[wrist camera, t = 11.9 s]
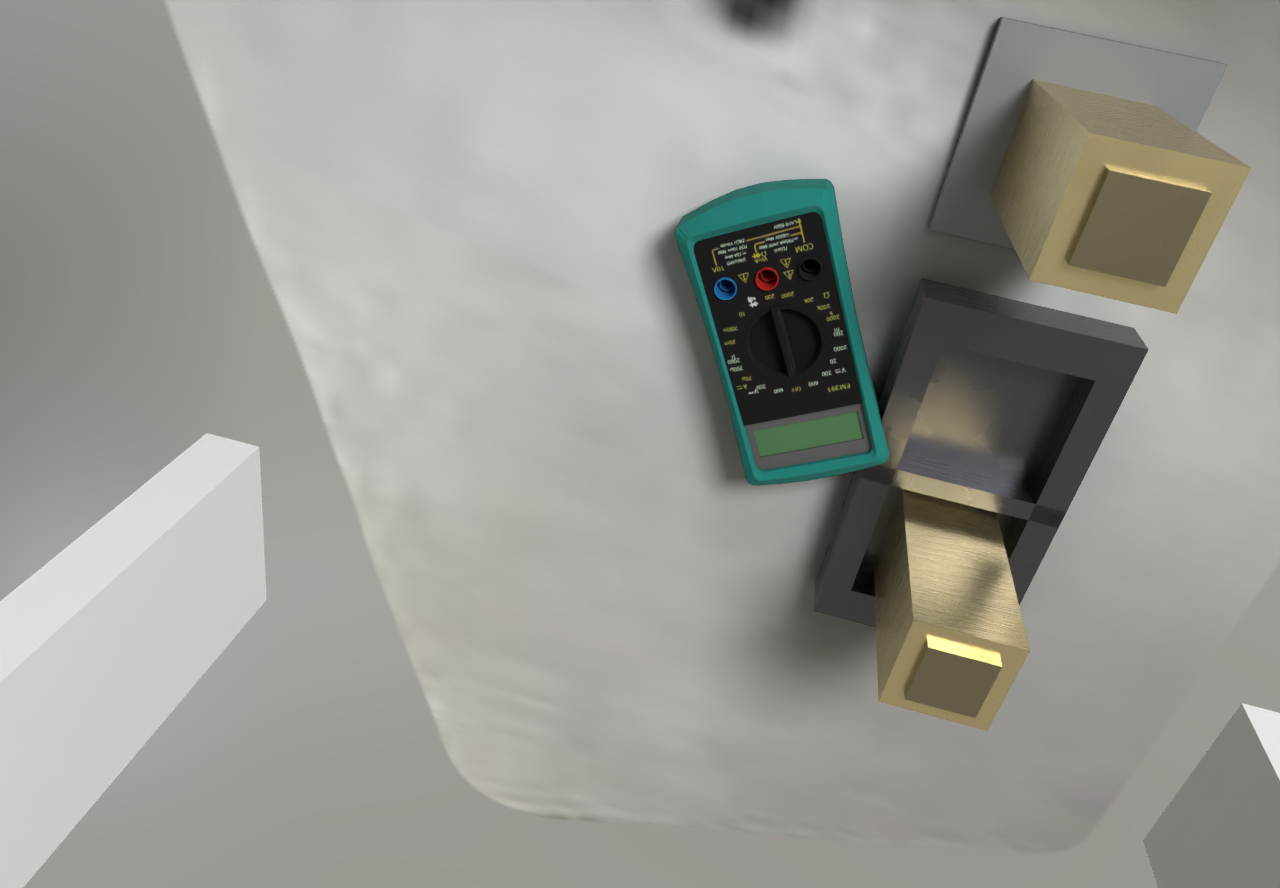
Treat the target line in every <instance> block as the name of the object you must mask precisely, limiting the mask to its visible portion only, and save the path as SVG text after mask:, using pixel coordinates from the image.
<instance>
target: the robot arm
mask: <svg viewBox="0 0 1280 888" xmlns="http://www.w3.org/2000/svg"><path fill="white" fill-rule="evenodd" d="M260 472H261V471H260V451H259V447H258V446H254V445H250V444H246V443H242V442H239V441H235V440H231V439H227V438H223V437H219V436H215V435H212V434H208V433H207V434H206V435H204V436H203V437H202V438H201V439H199V440H198V441H197V442H195V443H194V444H193V445H192V446H191V447H189V448H188V449H187V450H186V451H184V452H183V453H182V454H181V455H180V456H178V457H177V458H176V459H175V460H173V461H172V462H171V463H170V464H169V465H167V466H166V467H165V468H164V469H162V470H161V471H160V472H159V473H157V474H156V475H155V476H154V477H152V478H151V479H150V480H149V481H148V482H146V483H145V484H144V485H143V486H141V487H140V488H139V489H138V490H137V491H135V492H134V493H133V494H132V495H130V496H129V497H128V498H127V499H126V500H124V501H123V502H122V503H121V504H119V505H118V506H117V507H116V508H114V509H113V510H112V511H111V512H110V513H108V514H107V515H106V516H105V517H103V518H102V519H101V520H100V521H98V522H97V523H96V524H95V525H94V526H92V527H91V528H90V529H89V530H87V531H86V532H85V533H84V534H83V535H81V536H80V537H79V538H78V539H76V540H75V541H74V542H73V543H71V544H70V545H69V546H68V547H66V548H65V549H64V550H63V551H62V552H60V553H59V554H58V555H57V556H55V557H54V558H53V559H52V560H51V561H49V562H48V563H47V564H46V565H44V566H43V567H42V568H41V569H40V570H38V571H37V572H36V573H35V574H33V575H32V576H31V577H30V578H28V579H27V580H26V581H25V582H23V583H22V584H21V585H20V586H19V587H17V588H16V589H15V590H14V591H13V592H11V593H10V594H9V595H7V596H6V597H5V598H4V599H3V600H1V601H0V888H23V887H24V886H25V885H26V884H27V882H28V881H29V880H30V879H31V878H32V877H33V875H34V874H35V873H36V872H37V871H38V870H39V868H40V867H41V866H42V865H43V864H44V862H45V861H46V860H47V859H48V858H49V857H50V855H51V854H52V853H53V852H54V851H55V849H56V848H57V847H58V846H59V845H60V843H61V842H62V841H63V840H64V839H65V838H66V836H67V835H68V834H69V833H70V832H71V831H72V829H73V828H74V827H75V826H76V825H77V823H78V822H79V821H80V820H81V819H82V817H83V816H84V815H85V814H86V813H87V812H88V810H89V809H90V808H91V807H92V806H93V804H94V803H95V802H96V801H97V800H98V799H99V797H100V796H101V795H102V794H103V793H104V791H105V790H106V789H107V788H108V787H109V786H110V784H111V783H112V782H113V781H114V780H115V778H116V777H117V776H118V775H119V774H120V773H121V771H122V770H123V769H124V767H126V765H127V764H128V763H129V762H130V761H131V759H132V758H133V757H134V756H135V755H136V754H137V752H138V751H139V750H140V749H141V748H142V747H143V745H144V744H145V743H146V742H147V740H148V739H149V738H150V737H151V736H152V735H153V734H154V732H155V731H156V730H157V729H158V728H159V726H160V725H161V724H162V723H163V722H164V720H165V719H166V718H167V717H168V716H169V715H170V713H171V712H172V711H173V710H174V709H175V708H176V706H177V705H178V704H179V703H180V702H181V700H182V699H183V698H184V697H185V696H186V695H187V693H188V692H189V691H190V690H191V689H192V687H193V686H194V685H195V684H196V683H197V682H198V680H199V679H200V678H201V677H202V675H203V674H204V673H205V672H206V671H207V670H208V669H209V667H210V666H211V665H212V664H213V662H214V661H215V660H216V659H217V658H218V657H219V656H220V654H221V653H222V652H223V651H224V650H225V648H226V647H227V646H228V645H229V644H230V643H231V641H232V640H233V639H234V638H235V637H236V635H237V634H238V633H239V632H240V631H241V630H242V628H243V627H244V626H245V625H246V624H247V622H248V621H249V620H250V619H251V618H252V616H253V615H254V614H255V613H256V612H257V611H258V609H259V608H260V607H261V606H262V605H263V604H264V602H265V601H266V600H267V595H266V576H265V554H264V536H263V535H264V533H263V513H262V493H261V473H260ZM1143 841H1144V844H1145V848H1146V851H1147V854H1148V857H1149V861H1150V864H1151V867H1152V870H1153V873H1154V877H1155V880H1156V883H1157V886H1158V888H1280V713H1277V712H1273V711H1269V710H1265V709H1262V708H1257V707H1254V706H1250V705H1246V704H1243V703H1242V704H1241V705H1240V707H1239V708H1238V709H1237V711H1236V712H1235V714H1234V715H1233V716H1232V718H1231V719H1230V720H1229V722H1228V723H1227V725H1226V726H1225V728H1224V729H1223V730H1222V732H1221V733H1220V734H1219V736H1218V737H1217V738H1216V740H1215V741H1214V743H1213V744H1212V745H1211V747H1210V748H1209V750H1208V751H1207V752H1206V754H1205V755H1204V757H1203V758H1202V759H1201V761H1200V762H1199V764H1198V765H1197V766H1196V768H1195V769H1194V771H1193V772H1192V773H1191V775H1190V776H1189V778H1188V779H1187V780H1186V781H1185V783H1184V784H1183V786H1182V787H1181V789H1180V790H1179V791H1178V793H1177V794H1176V795H1175V797H1174V798H1173V800H1172V801H1171V802H1170V804H1169V805H1168V807H1167V808H1166V809H1165V811H1164V812H1163V813H1162V815H1161V816H1160V818H1159V819H1158V820H1157V822H1156V823H1155V824H1154V826H1153V827H1152V829H1151V830H1150V832H1149V833H1148V834H1147V836H1146V837H1145V839H1144V840H1143Z"/></svg>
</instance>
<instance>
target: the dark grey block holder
mask: <svg viewBox="0 0 1280 888" xmlns="http://www.w3.org/2000/svg"><path fill="white" fill-rule="evenodd" d="M1147 351H1148V348H1147V347H1146V345H1145V344H1144V342H1143V341H1142V339H1141V338H1140V336H1139V335H1138V333H1137V332H1136V331H1135V329H1134V328H1131V327H1127V326H1122V325H1118V324H1114V323H1110V322H1105V321H1101V320H1097V319H1092V318H1088V317H1084V316H1079V315H1075V314H1071V313H1067V312H1062V311H1058V310H1054V309H1049V308H1045V307H1041V306H1036V305H1032V304H1028V303H1024V302H1019V301H1015V300H1011V299H1006V298H1002V297H998V296H993V295H989V294H985V293H980V292H976V291H972V290H968V289H963V288H959V287H955V286H950V285H946V284H942V283H937V282H933V281H929V280H925V279H922V280H921V283H920V286H919V289H918V292H917V295H916V298H915V300H914V303H913V306H912V309H911V312H910V315H909V318H908V320H907V323H906V326H905V329H904V332H903V335H902V338H901V340H900V343H899V346H898V349H897V352H896V355H895V358H894V360H893V363H892V366H891V369H890V372H889V375H888V378H887V380H886V383H885V386H884V389H883V392H882V395H881V398H880V400H879V403H878V405H879V408H880V416H881V424H882V428H883V431H884V435H885V439H886V443H887V446H888V450H889V459H888V460H887V461H886V462H885V463H882V464H880V465H876V466H872V467H868V468H864V469H861V470H857V471H855V472H854V475H853V478H852V480H851V483H850V486H849V489H848V492H847V495H846V498H845V500H844V503H843V506H842V509H841V512H840V515H839V518H838V521H837V523H836V526H835V529H834V532H833V535H832V538H831V541H830V543H829V546H828V549H827V552H826V555H825V558H824V561H823V563H822V566H821V569H820V572H819V575H818V578H817V581H816V584H815V603H814V611H817V612H821V613H824V614H828V615H832V616H836V617H840V618H843V619H847V620H851V621H855V622H859V623H863V624H866V625H870V626H874V627H876V614H875V585H874V557H875V554H876V552H877V549H878V547H879V544H880V541H881V539H882V536H883V534H884V531H885V528H886V526H887V523H888V521H889V518H890V515H891V513H892V510H893V508H894V505H895V502H896V500H897V497H898V495H899V492H900V489H905V490H909V491H913V492H917V493H921V494H925V495H929V496H933V497H937V498H941V499H945V500H949V501H953V502H957V503H961V504H965V505H969V506H973V507H977V508H981V509H985V510H989V511H993V512H997V516H998V521H999V525H1000V529H1001V533H1002V537H1003V541H1004V546H1005V550H1006V554H1007V558H1008V562H1009V566H1010V570H1011V575H1012V579H1013V583H1014V587H1015V591H1016V595H1017V599H1018V604H1019V605H1020V603H1021V601H1022V599H1023V597H1024V595H1025V593H1026V591H1027V589H1028V587H1029V585H1030V583H1031V581H1032V579H1033V577H1034V575H1035V573H1036V571H1037V569H1038V567H1039V565H1040V563H1041V561H1042V559H1043V557H1044V555H1045V553H1046V551H1047V549H1048V547H1049V545H1050V543H1051V541H1052V539H1053V537H1054V535H1055V533H1056V531H1057V529H1058V527H1059V525H1060V523H1061V522H1062V520H1063V518H1064V516H1065V514H1066V512H1067V510H1068V508H1069V506H1070V504H1071V502H1072V500H1073V498H1074V496H1075V494H1076V492H1077V490H1078V488H1079V486H1080V484H1081V482H1082V480H1083V478H1084V476H1085V474H1086V472H1087V470H1088V468H1089V466H1090V464H1091V462H1092V460H1093V458H1094V456H1095V454H1096V452H1097V450H1098V448H1099V446H1100V444H1101V442H1102V440H1103V438H1104V436H1105V434H1106V432H1107V430H1108V429H1109V427H1110V425H1111V423H1112V421H1113V419H1114V417H1115V415H1116V413H1117V411H1118V409H1119V407H1120V405H1121V403H1122V401H1123V399H1124V397H1125V395H1126V393H1127V391H1128V389H1129V387H1130V385H1131V383H1132V381H1133V379H1134V377H1135V375H1136V373H1137V371H1138V369H1139V367H1140V365H1141V363H1142V361H1143V359H1144V357H1145V355H1146V353H1147Z"/></svg>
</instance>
